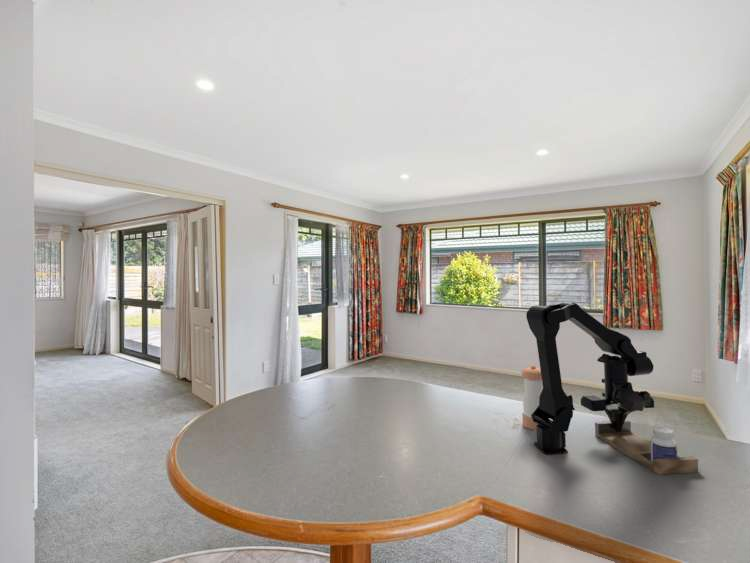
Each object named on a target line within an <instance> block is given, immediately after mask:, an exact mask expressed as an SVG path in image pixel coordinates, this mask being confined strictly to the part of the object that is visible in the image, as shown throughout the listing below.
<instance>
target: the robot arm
mask: <svg viewBox="0 0 750 563" xmlns="http://www.w3.org/2000/svg"><path fill="white" fill-rule="evenodd" d="M525 315H526V320H527V323H528V326H529V329H530V331H531V333H532V334H533V336H534V337H535V339H536V347H537V354H538V360H539V367H540V368H539V369H541V376H542V383H543V390H542V392H541V394H540V397H539V406H538V407H537V408H536V410H535V411H534V412H533V413H532V415H531V417H532V420H533V422H535V423H537V424H539V425H536V429H535V430H536V442H533V445H534V446H535V447H536V448H538V450H540V451H541V452H542V453H543V454H544V455H555V454H567V453H569V450H568V449H567V448H566V445H567V444H566V442H567V440H566V437H567V436H566V432H568V431H569V427H570V423H571V420H572V419H573V416H574V411H575V407H574V403H573V402H574V399H573V395H572V394H570V393H568V392H565V390H564V388H563V382H562V374H561V369H560V360H559V354H558V352H559V351H558V347H557V340H556V339H557V335H558V333H559V331H560V328H561V323H564V322H567V321H569V322H571V323H573V324H574V325H576V326H577V327H578V328H579V329H580V330H582V331H583V332H584V333H586V334H587V335H589V336H590V337H591V338H593V341H594V343H595V344H596V346H597V347H598V348H599V349H600V350H601V351H603V352H604V353H602V355H601V356H599V357H598V358H597V360H596V361H597V362H598V363H603V370H604V372H603V373H604V378H601V383H603V384H604V392H601V396H602V397H603V398H600V397H598V396H596V395H582V397H581V398H580V406H581V407H584V408H585V409H588V410H589V411H591V412H605V414H606V415H607V417H608V419H609V421H611V423H612V425H613V427H614V429H615V431H617V432H621V429H622V427H623V424H624V422H625V420H627V417H628V415H630V414H631V413H634V412H637V411H639V412H643V411H644V409H650V408H651V409H652V408H655V400H654V398H653V397H652V396H651V393H650V392H648V391H647V390H642V391H638V390H637V391H635V390H634V389H633V385H632V382H630V381H629V377H634V376H635V377H636V376H647V375H651V373H652V372H653V371H654V364H653V362H652V360H651V359H650V357H649V356H647V352H646V351H642V350H636V348H635V347H634V345H633V344H632V340H631V338H630V337H629V336H628V335H626V334H623V333H621V332H619V331H616V330H614V329H611V328H609V327H607V326H606V325H604V324H603V323H601V321H599V320H598V319H597V318H595V317H593V315H591V314H589V313H588V312H587V311H585V310H584V309H583V308H582V307H581V306H580V305H579V304H578V303H575V302H566V301H565V302H564V301H563V302H561V303H555V304H550V305H535V304H534V305H533V306H531V307H530V308H529V309H528V310H527V311H526V314H525ZM606 353H607V354H606ZM610 354H611V355H610Z"/></svg>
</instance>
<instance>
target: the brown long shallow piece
mask: <svg viewBox="0 0 750 563" xmlns="http://www.w3.org/2000/svg"><path fill="white" fill-rule="evenodd" d="M594 424H595V425H594V428H595V429H594V430H595V431H594V434H595V437H597V438H598V439H600V440H602V441H603V442H605V443H606V444H608V445H610V446H612V447H613V448H615V449H616V450H618V451H620V452H621V453H623V454H624V455H626V456H628V457H629V458H631V459H632V460H634V461H636V462H637V463H639V464H641V465H642V466H644V467H645V468H647V469H649V470H650V471H652V472H654V473H656V474H657V475H659V476H663V475H674V474H685V473H688V474H689V473H697V472H699V459H698V458H696V457H695V456H693V455H691V456H690V455H689V456H679V455H677V457H676V458H664V459H654V462H652V461H651V444H650V440H648V439H646V438H645V437H643V436H641V435H638V434H637V433H635V432H633V431H632V427H631V426H632V425H631V421H630V420H628V419H625V422H624V424H623V427H622V429H621V432H617V431H615V429H614V427H613V425H612V423H611V421H610V420H607V421H595V422H594ZM648 458H650V459H648Z"/></svg>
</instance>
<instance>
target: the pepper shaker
mask: <svg viewBox="0 0 750 563" xmlns="http://www.w3.org/2000/svg"><path fill="white" fill-rule="evenodd" d="M521 376H522V378H523V379H524V380H523V381H524V384H523V385H524V393H523V400H522V401H523V402H522V407H523V408H522V409H523V412H522V413H521V414H522V417H521V419H522V420H521V421H522V426H523V427H525V428H526V429H530V430H536V425H539V424H537V423H535V422H533V420H532V417H531V415H532V413H533V412H534V411H535V410H536V408H537V407H538V406H539V397H540V394H541V392H542V390H543V383H542V376H541V369H540V368H539V367H537V366H536V365H533V364H532V365H531V366H529V367H525V368H523V370H521Z"/></svg>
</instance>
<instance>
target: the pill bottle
mask: <svg viewBox="0 0 750 563" xmlns="http://www.w3.org/2000/svg"><path fill="white" fill-rule="evenodd" d="M652 433H653V435H652V436H651V437H650V440H649V441H650V444H651V458H650V461H652V462H654V459H664V458H676V457H677V456H678V445H677V444H678V442H677V441H676V440H675V439H674V430H672V429H670V428H667V427H663V426H655V427H653V429H652Z"/></svg>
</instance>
